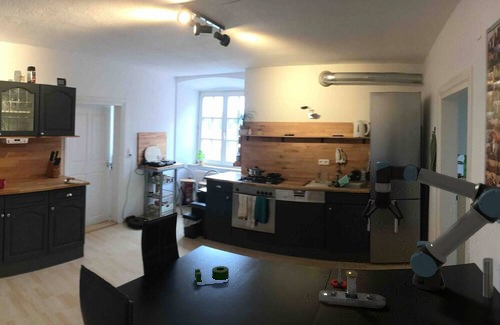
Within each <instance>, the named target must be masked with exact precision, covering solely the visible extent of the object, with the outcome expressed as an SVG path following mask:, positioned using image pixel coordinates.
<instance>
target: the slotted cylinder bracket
mask: <svg viewBox="0 0 500 325" xmlns="http://www.w3.org/2000/svg"><path fill="white" fill-rule="evenodd" d="M229 271H230V270H229V267H228V266H224V265H219V266H218V265H217V266H215V267H212V269H211V272H212V274H211V276H212V278H213V279H215V280H226V279H228V278H229V277H230V276H229V274H230V273H229ZM201 277H202V272H201V269H200V268H195V269H194V279H195V278H196V282H202V280H201ZM229 279H230V278H229ZM196 282H195V283H196Z"/></svg>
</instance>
